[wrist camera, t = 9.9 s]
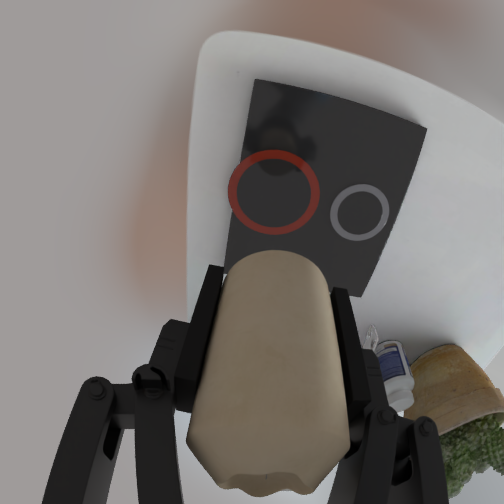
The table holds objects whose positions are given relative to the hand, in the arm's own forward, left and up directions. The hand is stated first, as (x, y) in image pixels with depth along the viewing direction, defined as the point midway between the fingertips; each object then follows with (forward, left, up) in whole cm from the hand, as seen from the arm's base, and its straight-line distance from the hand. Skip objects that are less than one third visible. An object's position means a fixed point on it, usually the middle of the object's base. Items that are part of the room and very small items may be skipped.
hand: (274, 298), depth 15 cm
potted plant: (+23, +33, -15) cm, 43 cm away
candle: (0, 0, 0) cm, 0 cm away
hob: (0, +4, -15) cm, 16 cm away
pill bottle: (+20, +21, -15) cm, 33 cm away
